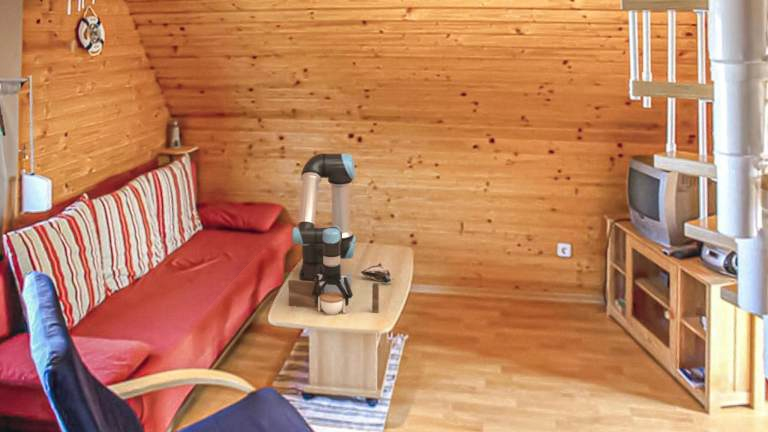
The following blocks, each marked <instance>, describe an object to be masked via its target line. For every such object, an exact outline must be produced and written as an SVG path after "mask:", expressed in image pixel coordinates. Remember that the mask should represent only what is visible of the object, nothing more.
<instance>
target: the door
mask: <svg viewBox="0 0 768 432" xmlns="http://www.w3.org/2000/svg"><path fill="white" fill-rule="evenodd" d="M346 275H347V276H348V283H349V286H350V288H351V289H352V273H346V274H344V275H343V276H346ZM340 282H341V284H342V286H343V288H344V289H345V291H346V292H347V290H346V287H345V285H344V281H343V280H342V279H340ZM322 285H323V284H322ZM322 285H320V288H321V287H322ZM326 292H339V293H341V291H340V290H339V288H338V287H337V286H336V285H332V284H331V285H328V284H326V286H325V287H324V289H323V290H322V292H321V293H320V295H321V294H323V293H326ZM347 294H348V293H347ZM321 309H322V307H321Z"/></svg>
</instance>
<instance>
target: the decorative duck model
mask: <svg viewBox="0 0 768 432" xmlns="http://www.w3.org/2000/svg"><path fill="white" fill-rule="evenodd" d="M360 273H361V274H362V275H363V276H365V277H367V278H369V279H373V280H374V281H377V282H382V281H383V282H384V283H390V282H391V281H394V280H395V278H393V277H391V272H390V271H389V270H388V268H386V267H385V266H383V265H382V264H381V262H379V263H377V265H372V266H370V267H368V268H365V269H363V270H362V271H360ZM390 277H391V278H390Z"/></svg>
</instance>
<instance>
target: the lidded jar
mask: <svg viewBox="0 0 768 432" xmlns="http://www.w3.org/2000/svg"><path fill="white" fill-rule="evenodd" d="M343 299H344V296H343V295H342V293H339V292H326V293H323V294H321V295H320V303H321V307H322V308H321V310H322V311H323V312H324V313H325V314H326V315H330V316H336V315H338V314H339V313H340V312H341V311H343Z"/></svg>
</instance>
